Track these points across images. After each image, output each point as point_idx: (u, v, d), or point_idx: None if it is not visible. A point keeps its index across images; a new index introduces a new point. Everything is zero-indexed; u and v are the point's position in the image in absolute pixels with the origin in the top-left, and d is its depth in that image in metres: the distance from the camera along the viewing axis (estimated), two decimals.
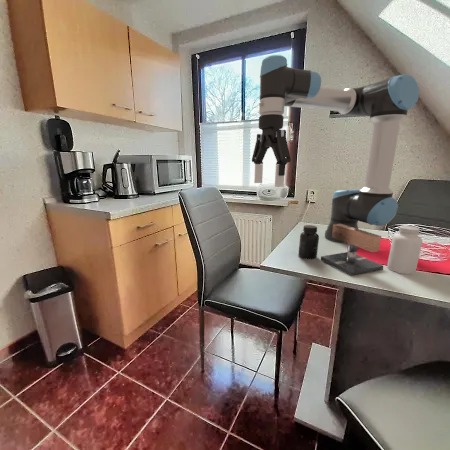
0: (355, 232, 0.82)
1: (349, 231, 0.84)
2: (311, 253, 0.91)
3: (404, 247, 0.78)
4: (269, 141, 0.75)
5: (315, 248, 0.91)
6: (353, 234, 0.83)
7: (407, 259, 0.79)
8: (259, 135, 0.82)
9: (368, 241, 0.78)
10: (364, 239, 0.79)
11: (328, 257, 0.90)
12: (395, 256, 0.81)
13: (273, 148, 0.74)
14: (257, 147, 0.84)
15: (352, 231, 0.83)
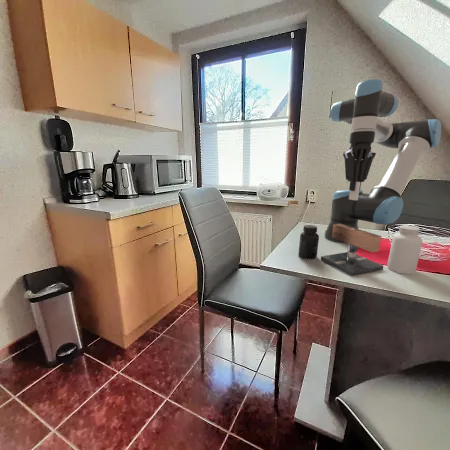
0: (355, 232, 0.82)
1: (349, 231, 0.84)
2: (311, 253, 0.91)
3: (404, 247, 0.78)
4: None
5: (315, 248, 0.91)
6: (353, 234, 0.83)
7: (407, 259, 0.79)
8: None
9: (368, 241, 0.78)
10: (364, 239, 0.79)
11: (328, 257, 0.90)
12: (395, 256, 0.81)
13: None
14: None
15: (352, 231, 0.83)
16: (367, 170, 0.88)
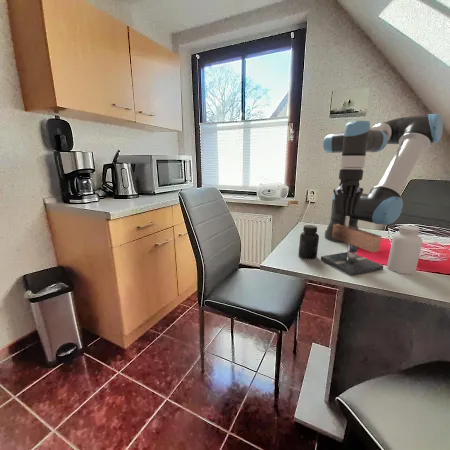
0: (355, 232, 0.82)
1: (349, 231, 0.84)
2: (311, 253, 0.91)
3: (404, 247, 0.78)
4: None
5: (315, 248, 0.91)
6: (353, 234, 0.83)
7: (407, 259, 0.79)
8: None
9: (368, 241, 0.78)
10: (364, 239, 0.79)
11: (328, 257, 0.90)
12: (395, 256, 0.81)
13: None
14: None
15: (352, 231, 0.83)
16: (356, 205, 0.90)
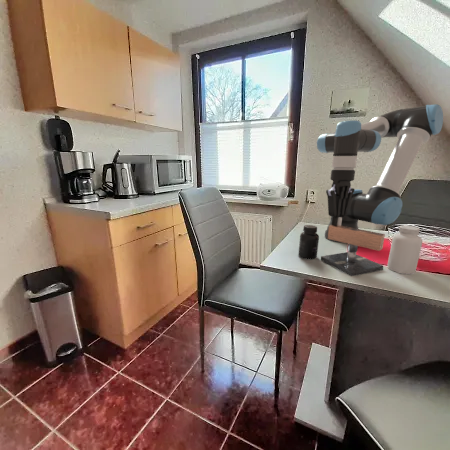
0: (358, 232, 0.82)
1: (350, 232, 0.84)
2: (311, 253, 0.91)
3: (404, 247, 0.78)
4: None
5: (315, 248, 0.91)
6: (355, 234, 0.83)
7: (407, 259, 0.79)
8: None
9: (374, 240, 0.79)
10: (369, 238, 0.80)
11: (328, 257, 0.90)
12: (395, 256, 0.81)
13: None
14: None
15: (354, 231, 0.83)
16: (347, 205, 0.89)
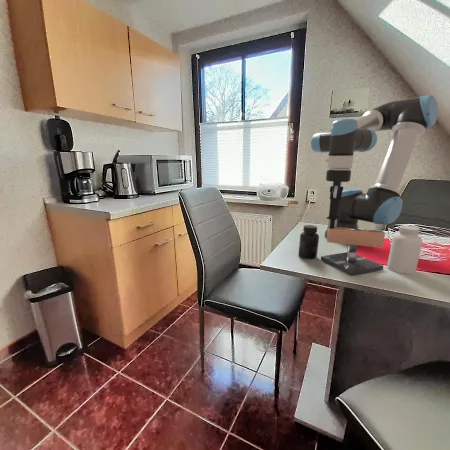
0: (360, 232, 0.82)
1: (352, 232, 0.83)
2: (311, 253, 0.91)
3: (404, 247, 0.78)
4: (330, 194, 0.84)
5: (315, 248, 0.91)
6: (357, 234, 0.83)
7: (407, 259, 0.79)
8: None
9: (377, 238, 0.81)
10: (372, 237, 0.81)
11: (328, 257, 0.90)
12: (395, 256, 0.81)
13: None
14: None
15: (356, 232, 0.83)
16: (338, 206, 0.88)
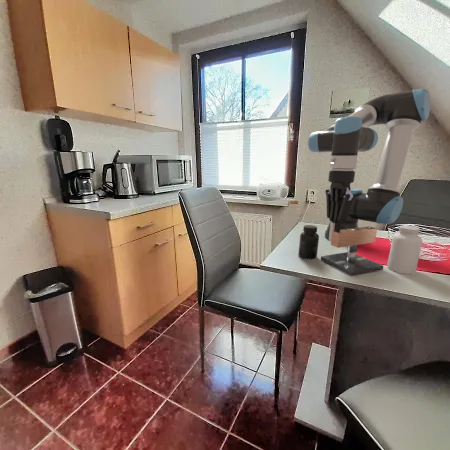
0: (362, 231, 0.83)
1: (356, 233, 0.82)
2: (311, 253, 0.91)
3: (404, 247, 0.78)
4: (336, 196, 0.79)
5: (315, 248, 0.91)
6: (359, 234, 0.83)
7: (407, 259, 0.79)
8: (328, 190, 0.85)
9: (372, 234, 0.85)
10: (369, 234, 0.85)
11: (328, 257, 0.90)
12: (395, 256, 0.81)
13: (336, 205, 0.79)
14: (329, 201, 0.84)
15: (359, 231, 0.83)
16: None
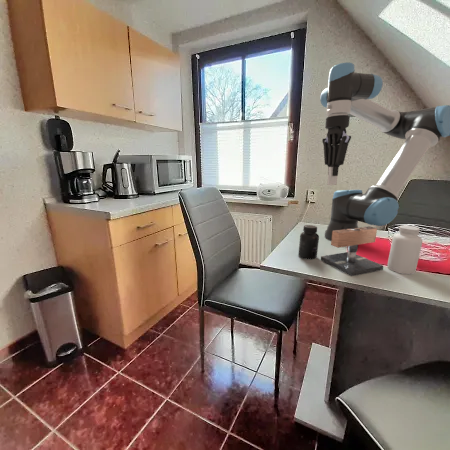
0: (362, 231, 0.83)
1: (356, 233, 0.82)
2: (311, 253, 0.91)
3: (404, 247, 0.78)
4: (333, 141, 0.85)
5: (315, 248, 0.91)
6: (359, 234, 0.83)
7: (407, 259, 0.79)
8: (324, 139, 0.91)
9: (372, 234, 0.85)
10: (369, 234, 0.85)
11: (328, 257, 0.90)
12: (395, 256, 0.81)
13: (334, 149, 0.86)
14: (326, 149, 0.91)
15: (359, 231, 0.83)
16: None
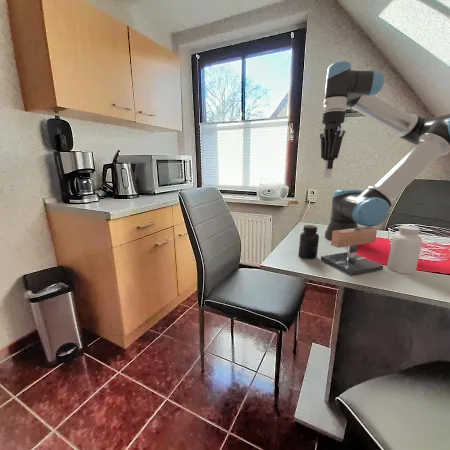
0: (362, 231, 0.83)
1: (356, 233, 0.82)
2: (311, 253, 0.91)
3: (404, 247, 0.78)
4: (329, 135, 0.90)
5: (315, 248, 0.91)
6: (359, 234, 0.83)
7: (407, 259, 0.79)
8: (322, 134, 0.96)
9: (372, 234, 0.85)
10: (369, 234, 0.85)
11: (328, 257, 0.90)
12: (395, 256, 0.81)
13: (329, 143, 0.91)
14: (323, 143, 0.96)
15: (359, 231, 0.83)
16: None
